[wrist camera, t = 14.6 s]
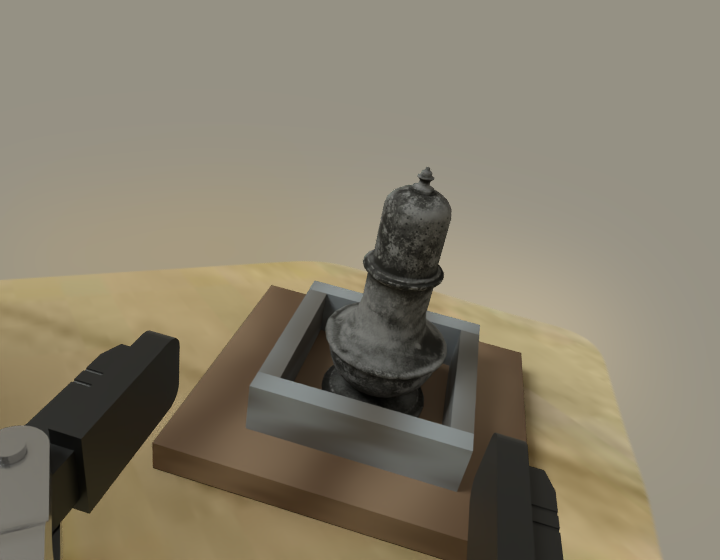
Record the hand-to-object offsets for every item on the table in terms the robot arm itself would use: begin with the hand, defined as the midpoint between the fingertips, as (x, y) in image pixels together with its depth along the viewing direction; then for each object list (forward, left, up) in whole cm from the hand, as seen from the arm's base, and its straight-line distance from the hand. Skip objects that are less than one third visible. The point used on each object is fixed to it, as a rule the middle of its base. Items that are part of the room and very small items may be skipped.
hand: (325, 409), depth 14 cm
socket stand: (0, +12, -11) cm, 16 cm away
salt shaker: (+1, +12, -9) cm, 15 cm away
